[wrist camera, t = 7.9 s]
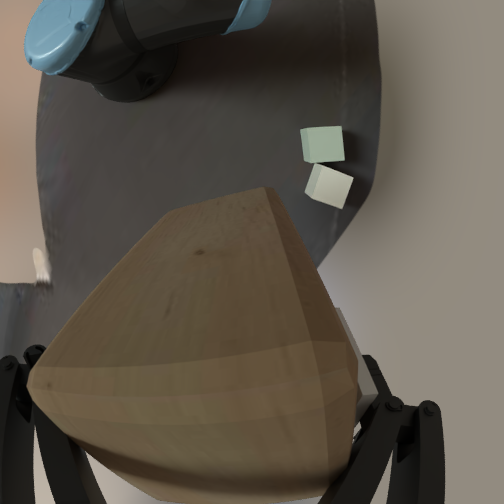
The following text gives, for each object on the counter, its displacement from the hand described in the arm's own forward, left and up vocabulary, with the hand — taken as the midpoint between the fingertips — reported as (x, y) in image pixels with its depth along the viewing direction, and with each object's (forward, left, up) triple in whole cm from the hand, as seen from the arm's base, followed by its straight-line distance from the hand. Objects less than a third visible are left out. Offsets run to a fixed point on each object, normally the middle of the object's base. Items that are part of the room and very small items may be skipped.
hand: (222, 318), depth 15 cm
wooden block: (0, 0, -11) cm, 11 cm away
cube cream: (-5, +13, -30) cm, 33 cm away
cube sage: (-11, +11, -30) cm, 34 cm away
